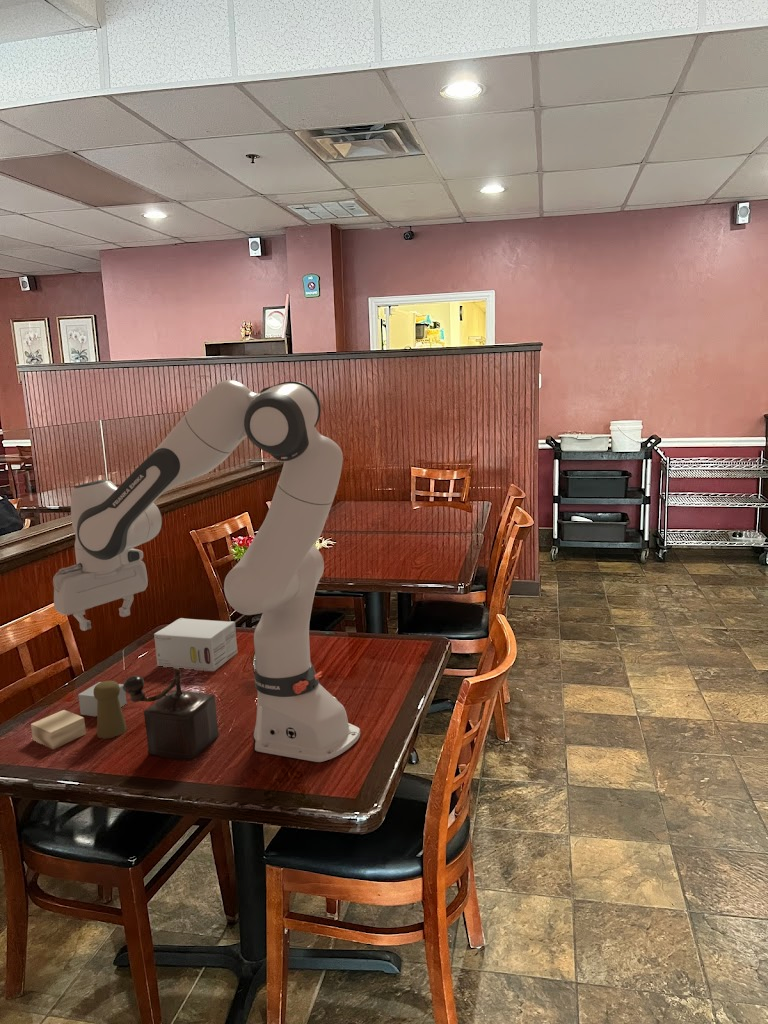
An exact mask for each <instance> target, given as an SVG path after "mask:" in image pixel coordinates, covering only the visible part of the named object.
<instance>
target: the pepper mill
mask: <svg viewBox="0 0 768 1024" xmlns="http://www.w3.org/2000/svg"><path fill="white" fill-rule="evenodd" d="M173 673H174V676H173V680H172V682H170V684H169V685H168V687H166V688H165V689H164V690H163V691H161V692H160V693H158V694H156V695H154V696H146V693H145V692H144V691H143V688H144V686H145V680H144V678H143V677H142V676H138V675H133V676H130V677H128V678H126V679H125V680H124V682H123V684H124V686H123V690H124V691H125V693H128V694H129V695H130V696H129V697H130V698H129V701H131V702H132V703H135V702H137V703H138V702H149V703H150V702H154V703H153V704H151V705H150V706H148V708H146V709H144V710H143V714H144V715H143V716H144V722H145V733H146V734H145V735H146V741H147V754H150V755H153V756H156V757H158V758H159V757H161V758H165V759H174V760H179V761H180V760H181V761H192V760H194V759H195V758H197V757H198V756H199V755H200V754H201V753H203V752H204V751H205V750H206V749H207V748H208V747H209V746H210V745H211V744H212V743H213V742H215V740H216V739H217V738H218V737H219V733H220V732H219V728H218V727H219V726H218V717H217V704H216V696H215V694H213V693H212V694H210V693H204V692H203V693H202V692H195V691H187V690H182V687H181V685H182V684H181V680H182V675H181V669H179V668H174V670H173ZM174 687H176V688H175V689H174ZM171 690H172V691H171Z"/></svg>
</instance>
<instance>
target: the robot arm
mask: <svg viewBox="0 0 768 1024" xmlns="http://www.w3.org/2000/svg"><path fill="white" fill-rule="evenodd" d="M321 411H322V406H321V401H320V398H319V396H318V394H317V393H316V391H315V390H314V389H313V388H312V387H311V386H309V385H307V384H305V383H303V382H301V381H292V380H291V381H284V382H281V383H280V382H279V383H278V384H275V385H271V386H269V387H264V388H262V389H261V390H260V391H259V392H258V393H256V392H254V391H252V390H251V389H250V388H248V387H247V386H246V385H245V384H244V383H241V382H239V381H237V380H233V379H226V380H222V381H219V382H218V383H216V384H215V385H214V386H212V387H211V388H210V389H209V390H208V391H206V392H205V393H204V394H203V395H202V396H201V397H199V399H198V400H197V401H195V403H193V404H192V406H191V407H190V408H189V409H188V410H187V412H186V413H185V414H184V415H183V416H182V417H181V419H180V420H179V421H178V422H177V423H176V425H175V426H174V427H173V428H172V430H171V431H169V433H168V434H167V436H166V437H165V438H164V439H163V440H162V441H161V442H160V444H159V445H158V446H156V447H155V449H154V450H153V451H152V452H151V454H150V455H149V456H148V457H147V458H146V459H144V461H143V462H142V463H141V464H140V465H139V466H138V467H136V469H135V470H133V472H131V474H130V475H129V476H128V477H127V478H125V480H124V481H123V482H122V483H121V484H120V485H119V486H117V485H115V484H114V482H112V481H111V480H108V479H100V480H99V479H98V480H95V481H94V480H93V481H90V482H85V483H81V484H78V485H76V486H75V487H74V488H73V489H72V491H71V492H72V493H71V496H70V516H71V526H72V529H73V531H74V534H75V541H74V553H75V554H74V555H75V562H76V564H72V565H70V566H68V567H62V568H60V569H58V571H57V572H56V573H55V574H54V576H53V577H52V578H53V579H52V585H53V608H54V610H55V611H56V612H57V613H58V614H61V615H65V616H70V615H72V616H73V617H74V618H75V619H76V620H77V621H78V622H79V623H78V624H79V629H80V630H81V631H82V632H83V631H87V630H91V629H92V625H91V624H92V621H91V620H88V619H86V618H85V617H84V616H85V615H86V610H89V609H92V608H94V607H97V606H101V605H104V604H108V603H110V602H113V601H118V600H120V599H123V603H122V604H121V605H122V606H121V607H119V608H118V611H119V613H118V614H119V616H120V617H121V618H122V617H123V618H126V617H128V616H130V615H131V606H132V604H133V601H134V600H135V599H134V595H135V594H138V593H142V592H144V591H146V589H147V587H148V585H149V584H148V582H149V579H148V573H147V567H146V563H145V562H144V561H143V558H144V552H143V550H141V549H137V548H136V547H138V546H140V545H143V544H145V543H148V542H150V541H152V540H153V539H154V538H157V536H158V535H159V534H160V533H161V531H162V527H163V516H162V512H161V509H160V508H159V506H158V505H157V504H156V503H155V502H156V500H157V499H158V498H160V497H161V496H162V495H164V494H165V493H167V492H168V491H169V490H171V489H173V488H175V487H178V486H179V485H182V484H183V483H187V482H189V481H192V480H194V479H197V478H199V477H203V476H204V475H207V474H208V473H210V472H211V471H213V470H215V468H218V466H220V465H221V464H222V463H224V462H225V460H226V459H228V457H229V456H230V455H231V454H232V453H233V452H234V451H235V450H236V449H237V448H238V446H239V445H240V444H241V443H242V441H243V440H245V439H246V438H248V439H249V440H250V442H251V443H252V444H253V445H254V446H256V447H257V448H258V449H260V450H262V451H263V452H265V453H268V454H269V455H270V456H272V458H274V459H276V460H277V461H279V462H283V466H282V469H281V473H280V475H279V478H278V481H277V484H276V487H275V490H274V493H273V497H272V500H271V502H270V505H269V508H268V511H267V513H266V516H265V519H264V520H263V522H262V524H261V526H260V527H259V528H258V531H257V533H256V534H255V536H254V538H253V539H252V540H251V542H250V544H249V546H248V548H247V549H246V550H245V552H244V554H243V555H242V557H241V558H240V560H239V561H238V562H237V563H236V564H235V565H234V566H233V568H232V569H231V570H229V571H228V573H227V575H226V576H225V578H224V582H223V583H224V584H223V591H224V595H225V598H226V600H227V602H228V604H229V605H230V607H232V609H234V611H236V612H237V613H239V614H241V615H244V616H245V615H246V616H252V615H259V614H261V617H260V619H259V620H258V621H259V622H258V623H257V625H256V627H255V629H254V633H253V645H254V656H255V669H254V680H253V681H254V684H255V686H254V687H255V689H256V690H257V701H256V702H257V704H256V721H255V727H254V732H253V739H254V741H255V742H254V750H255V751H256V752H258V753H264V754H270V755H275V756H280V757H281V756H282V757H286V758H291V759H292V758H293V759H298V760H304V761H309V762H314V763H322V762H325V761H328V760H332V759H334V758H336V757H338V756H340V755H341V754H343V753H344V752H346V751H348V750H349V749H350V748H351V747H352V746H354V744H356V743H357V742H358V740H359V739H360V736H361V729H360V728H359V727H358V726H356V725H354V724H352V723H349V720H348V719H349V718H348V715H347V711H346V708H345V706H344V705H343V704H342V703H341V702H340V701H339V700H338V699H337V697H335V696H333V695H332V694H331V693H330V692H329V691H328V690H326V688H325V687H324V686H323V685H321V683H320V680H319V679H321V678H322V677H323V675H321V674H322V673H323V671H319V672H316V669H315V667H314V665H313V663H312V662H311V650H310V621H311V614H312V609H313V604H314V598H315V593H316V590H317V587H318V585H319V582H320V580H321V578H322V576H323V573H324V570H325V563H324V562H325V561H324V557H323V555H322V553H321V551H320V550H319V549H318V548H317V547H316V546H315V544H316V543H317V542H318V540H319V539H320V537H321V535H322V534H323V530H324V527H325V524H326V522H327V519H328V517H329V513H330V510H331V509H332V506H333V503H334V500H335V497H336V494H337V491H338V486H339V482H340V479H341V473H342V468H343V463H344V462H343V461H344V457H343V456H344V455H343V454H344V453H343V451H342V449H341V447H340V445H338V443H337V442H335V441H334V440H333V439H331V438H330V437H327V436H325V435H322V433H320V432H319V431H318V430H317V427H316V426H317V425H318V423H319V421H320V417H321Z"/></svg>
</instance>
